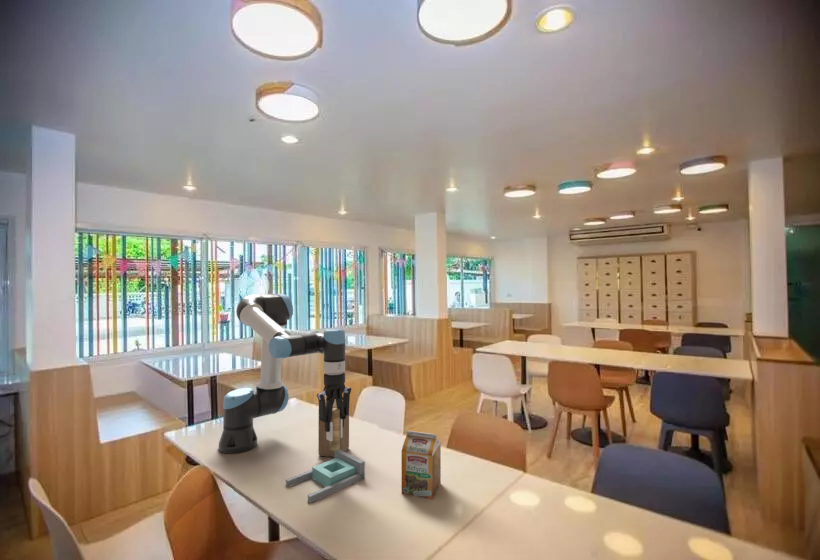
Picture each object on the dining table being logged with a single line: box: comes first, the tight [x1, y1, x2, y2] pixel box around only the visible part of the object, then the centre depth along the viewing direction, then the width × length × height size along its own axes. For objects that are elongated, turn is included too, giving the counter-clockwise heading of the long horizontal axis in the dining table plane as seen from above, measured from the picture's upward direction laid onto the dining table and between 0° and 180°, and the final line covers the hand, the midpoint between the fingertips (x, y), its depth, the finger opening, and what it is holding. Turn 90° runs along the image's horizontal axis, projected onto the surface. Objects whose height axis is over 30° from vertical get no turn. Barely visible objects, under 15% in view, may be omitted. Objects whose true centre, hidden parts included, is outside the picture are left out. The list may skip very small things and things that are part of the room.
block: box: [317, 400, 350, 458], centre depth 162 cm, size 10×10×20 cm
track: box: [285, 449, 366, 504], centre depth 138 cm, size 16×22×6 cm
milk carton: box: [401, 430, 442, 501], centre depth 134 cm, size 11×11×19 cm
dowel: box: [329, 408, 340, 451], centre depth 141 cm, size 4×4×14 cm
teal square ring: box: [311, 457, 356, 488], centre depth 141 cm, size 11×11×4 cm
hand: (334, 438), depth 141 cm, fingers closed on dowel, 3 cm apart
